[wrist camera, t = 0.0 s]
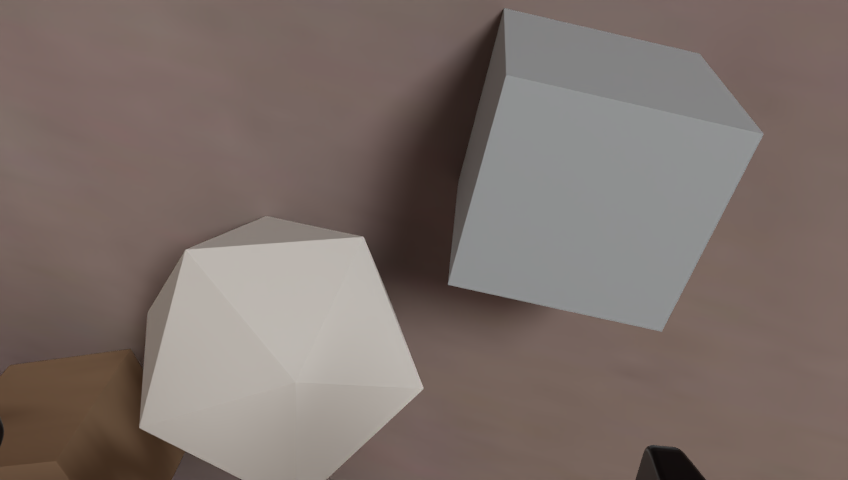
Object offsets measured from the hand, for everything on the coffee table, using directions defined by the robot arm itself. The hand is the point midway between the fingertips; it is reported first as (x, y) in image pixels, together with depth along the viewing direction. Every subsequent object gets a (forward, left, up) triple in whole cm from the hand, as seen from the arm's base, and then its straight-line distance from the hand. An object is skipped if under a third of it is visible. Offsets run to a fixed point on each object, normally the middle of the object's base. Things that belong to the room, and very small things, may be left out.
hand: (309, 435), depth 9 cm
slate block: (-1, -5, -15) cm, 16 cm away
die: (-8, +4, -15) cm, 17 cm away
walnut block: (-16, +14, -15) cm, 26 cm away
